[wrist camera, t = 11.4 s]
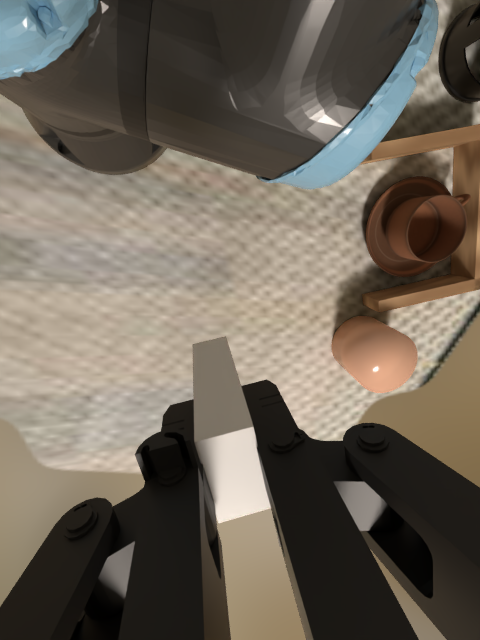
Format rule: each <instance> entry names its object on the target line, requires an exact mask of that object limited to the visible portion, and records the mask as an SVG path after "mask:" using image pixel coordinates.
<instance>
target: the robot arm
mask: <svg viewBox="0 0 480 640" xmlns="http://www.w3.org/2000/svg"><path fill="white" fill-rule="evenodd" d="M438 14H439V11H438V6H437V3H436V1H435V0H0V94H2V95H3V96H5V97H6V98H8V99H9V100H11V101H12V102H14V103H15V104H17V105H18V106H20V107H21V108H22V109H23V111H24V113H25V115H26V117H27V119H28V120H29V122H30V124H31V125H32V126H33V128H34V129H35V131H36V132H37V133H38V134H39V136H40V137H41V138H42V139H43V140H44V141H45V142H46V143H47V144H48V145H49V146H50V147H51V148H52V149H53V150H55V151H56V152H57V153H58V154H60V155H61V156H63V157H64V158H66V159H67V160H69V161H71V162H73V163H75V164H77V165H79V166H81V167H83V168H85V169H88V170H90V171H93V172H97V173H102V174H109V175H121V174H128V173H132V172H135V171H138V170H141V169H143V168H145V167H147V166H148V165H150V164H151V163H153V162H154V161H155V160H157V159H158V158H159V157H160V156H161V155H162V154H163V152H164V151H165V150H166V149H167V148H170V149H173V150H176V151H179V152H182V153H186V154H189V155H192V156H195V157H198V158H202V159H205V160H208V161H211V162H214V163H218V164H221V165H224V166H227V167H230V168H234V169H237V170H240V171H243V172H247V173H250V174H253V175H256V177H257V178H258V179H259V180H261V181H264V182H267V183H283V184H287V185H291V186H295V187H298V188H302V189H315V188H322V187H325V186H329V185H331V184H333V183H335V182H337V181H339V180H340V179H342V178H343V177H345V176H346V175H347V174H349V173H350V172H351V171H353V170H354V169H355V168H356V167H357V166H358V165H359V164H360V163H361V162H362V161H363V160H364V159H365V158H366V157H367V156H368V155H369V154H370V153H371V152H372V151H373V150H374V149H375V147H376V146H377V145H378V144H379V143H380V142H381V140H382V139H383V138H384V136H385V135H386V134H387V132H388V131H389V130H390V128H391V127H392V126H393V124H394V123H395V121H396V120H397V118H398V117H399V115H400V114H401V112H402V111H403V109H404V107H405V106H406V104H407V102H408V100H409V99H410V97H411V95H412V93H413V91H414V89H415V88H416V80H415V79H414V77H415V76H416V75H417V73H418V72H419V71H420V70H421V69H422V68H423V67H424V66H425V64H426V63H427V62H428V59H429V57H430V54H431V51H432V48H433V45H434V42H435V39H436V34H437V29H438ZM193 392H194V399H193V400H189V401H185V402H181V403H177V404H174V405H170V407H169V408H168V409H167V411H166V412H165V414H164V415H163V422H162V429H161V432H158V433H156V434H154V435H152V436H151V437H149V438H148V439H146V440H145V441H144V442H143V443H142V444H141V445H140V446H139V447H138V449H137V451H136V453H135V456H136V459H137V461H138V464H139V467H140V469H141V472H142V475H143V477H144V480H145V485H144V488H143V489H141V490H140V491H139V492H138V493H136V494H135V495H133V496H131V497H130V498H128V499H126V500H124V501H122V502H120V503H119V504H117V505H115V506H113V507H112V504H111V503H110V502H109V501H108V500H107V499H104V498H93V499H89V500H86V501H84V502H82V503H80V504H78V505H76V506H74V507H73V508H72V509H70V510H69V511H68V512H67V513H65V515H63V516H62V517H61V519H60V520H59V521H58V522H57V523H56V524H55V526H54V527H53V529H52V530H51V532H50V533H49V535H48V537H47V538H46V539H45V541H44V542H43V544H42V545H41V547H40V548H39V550H38V551H37V553H36V554H35V556H34V557H33V559H32V560H31V562H30V563H29V565H28V566H27V568H26V569H25V571H24V572H23V574H22V575H21V577H20V578H19V580H18V581H17V583H16V584H15V586H14V587H13V589H12V590H11V592H10V593H9V595H8V596H7V598H6V599H5V601H4V602H3V604H2V605H1V607H0V640H231V636H230V627H229V617H228V606H227V596H226V586H225V576H224V566H223V556H222V545H221V540H220V537H219V534H218V530H217V523H216V516H217V520H218V523H221V522H224V521H228V520H231V519H235V518H238V517H242V516H245V515H248V514H252V513H256V512H259V511H262V510H266V509H269V508H271V510H272V514H273V518H274V523H275V527H276V532H277V536H278V541H279V545H280V547H281V549H282V553H283V556H284V560H285V564H286V567H287V571H288V574H289V578H290V582H291V586H292V589H293V593H294V596H295V600H296V604H297V607H298V611H299V615H300V618H301V622H302V625H303V629H304V632H305V636H306V640H419V639H418V637H417V635H416V634H415V632H414V630H413V628H412V626H411V624H410V623H409V621H408V619H407V617H406V615H405V613H404V612H403V610H402V608H401V606H400V604H399V602H398V600H397V598H396V597H395V595H394V593H393V591H392V589H391V588H390V586H389V584H388V582H387V580H386V578H385V576H384V575H383V573H382V571H381V569H380V567H379V565H378V563H377V562H376V560H375V558H374V556H373V554H372V552H371V551H370V549H371V550H372V551H373V553H374V554H375V555H376V556H377V557H378V558H379V560H380V561H381V562H382V563H383V564H384V566H385V567H386V568H387V569H388V570H389V572H390V573H391V574H392V575H393V576H394V577H395V579H396V580H397V581H398V582H399V583H400V585H401V586H402V587H403V588H404V589H405V590H406V592H407V593H408V594H409V595H410V597H411V598H412V599H413V600H414V601H415V602H416V604H417V605H418V606H419V607H420V608H421V610H422V611H423V612H424V613H425V614H426V616H427V617H428V618H429V619H430V620H431V621H432V623H433V624H434V625H435V626H436V627H437V629H438V630H439V631H440V632H441V633H442V634H443V636H444V637H445V638H446V639H447V640H480V488H479V487H478V486H476V485H475V484H474V483H472V482H471V481H469V480H467V479H466V478H464V477H463V476H462V475H460V474H459V473H457V472H456V471H454V470H453V469H451V468H450V467H448V466H447V465H445V464H444V463H442V462H441V461H439V460H438V459H436V458H435V457H433V456H432V455H430V454H429V453H427V452H426V451H424V450H423V449H421V448H420V447H418V446H417V445H416V444H414V443H413V442H411V441H410V440H408V439H407V438H405V437H404V436H402V435H401V434H399V433H397V432H396V431H395V430H393V429H391V428H389V427H387V426H385V425H381V424H375V423H362V424H358V425H355V426H352V427H351V428H350V429H348V430H347V431H346V433H345V435H344V437H343V441H320V440H316V439H312V438H310V437H309V436H308V435H307V434H306V433H305V432H304V431H303V430H300V429H299V428H298V427H297V425H296V423H295V421H294V419H293V417H292V415H291V413H290V411H289V409H288V407H287V406H286V404H285V402H284V400H283V398H282V396H281V395H280V392H279V390H278V388H277V386H276V385H275V384H273V383H271V382H270V381H268V380H263V381H259V382H255V383H252V384H248V385H244V386H241V384H240V381H239V377H238V374H237V371H236V368H235V364H234V361H233V358H232V355H231V351H230V348H229V345H228V342H227V338H226V336H225V337H221V338H217V339H213V340H209V341H205V342H200V343H196V344H193ZM369 548H370V549H369Z"/></svg>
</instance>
